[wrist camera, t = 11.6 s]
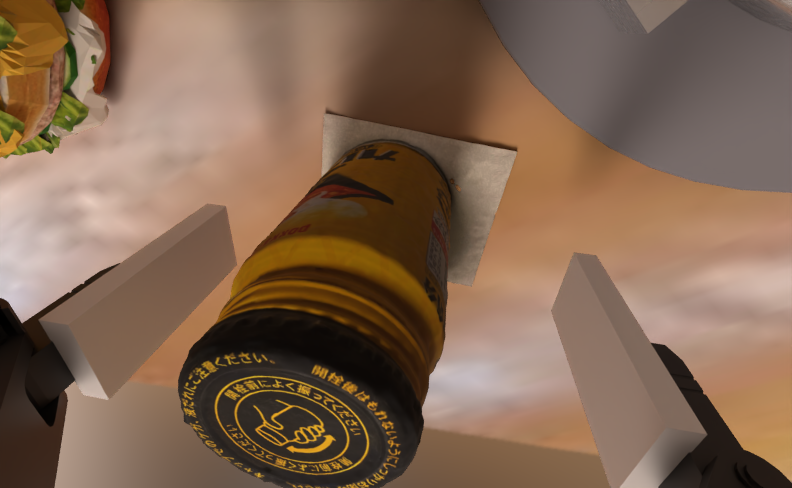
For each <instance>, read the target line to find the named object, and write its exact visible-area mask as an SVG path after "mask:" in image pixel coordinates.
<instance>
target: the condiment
mask: <svg viewBox="0 0 792 488" xmlns="http://www.w3.org/2000/svg"><path fill="white" fill-rule="evenodd" d="M322 154H323V157H322V178H321V179H320V180H319V181H318V182H317V183H316V184H315V185H314V186H313V187H312V188H311V189H310V190H309V192H308V193H307V195H306V196H305V197H304V198H303V199H302V200H301V201H300V202H299V203H298V204H297V206H295V207H294V209H293V210H292V211H291V212H290V213H289V215H288V216H287V217H285V218H284V220H283V221H282V222H281V223H280V224H279V225H278V226H277V227H276V229H275V230H274V231H273V232H271V233H270V235H269V236H267V238H266V239H265V240H263V241H262V242H261V243H260V244H259V245H258V246H257V248H256V249H255V250H254V252H253V253H252V255H251V256H250V257H249V258H247V259H246V260H245V262H244V263H243V265H242V267H241V268H240V270H239V272H238V274H237V275H236V277H235V279H234V282H233V285H232V289H231V295H230V300H229V301H228V302H227V304H226V305H225V306H224V308H223V309H222V311H221V313H220V315H219V318H218V320H217V322H216V323H215V325H213V326H212V327H211V328H210V329H209V330H208V331H207V332H206V333H205V334H204V336H203V337H202V338H201V339H200V340H199V341H197V342H196V343H195V344H194V345H193V346H192V348H191V349H190V350H189V354H188V357H187V359H186V361H185V363H184V364H183V368H182V370H181V372H180V376H179V379H178V392H179V397H180V400H181V408H182V410H183V412H184V422H185V423H187V424H189V425H191V426H192V428H193V429H194V431H195V432H196V433H197V435H198V437H199V438H200V439H202V441H203V443H204V444H205V445H206V446H207V447H208V448H210V449H211V450H212V451H214V452H215V453H216V454H217V455H218V456H219V457H222V458H224V459H226V460H227V461H229V462H230V463H231V464H233V465H234V466H236V467H237V468H238V469H240V470H241V471H243V472H246V473H248V474H250V475H252V476H255V477H258V478H260V479H261V480H263V481H264V482H272V483H274V484H276V485H278V486H281V487H283V488H380V487H382V486H384V485H385V484H386V483H388V482H390V481H392V480H394V479H396V478H397V477H399V476H400V475H402V474H403V473H404V471H405V470H406V469H407V467H408V466H409V465H410V463H411V462H412V460H413V458H414V456H415V454H416V451H417V447H418V445H419V443H420V439H421V434H422V431H423V425H424V419H423V416H422V406H423V404H424V401H425V398H426V395H427V392H428V388H429V375H430V374H431V373H432V372H433V371H434V369H435V367H436V364H437V362H438V361H439V359H440V357H441V354H442V351H443V345H444V340H445V324H446V323H445V321H446V305H447V297H448V292H447V281H449V282H452V283H456V284H462V285H466V286H471V287H472V284H473V281H474V278H475V274H476V271H477V268H478V265H479V262H480V259H481V256H482V253H483V250H484V247H485V244H486V241H487V238H488V235H489V232H490V229H491V226H492V223H493V220H494V217H495V213H496V211H497V209H498V206H499V203H500V200H501V198H502V195H503V192H504V188H505V185H506V182H507V179H508V177H509V174H510V172H511V169H512V166H513V163H514V160H515V157H516V154H517V152H516V151H511V150H506V149H500V148H495V147H490V146H486V145H481V144H475V143H469V142H465V141H460V140H456V139H450V138H445V137H441V136H436V135H431V134H427V133H422V132H418V131H413V130H408V129H404V128H398V127H393V126H388V125H384V124H378V123H373V122H369V121H363V120H357V119H353V118H349V117H343V116H338V115H332V114H325V113H324V125H323V149H322ZM450 179H453V180H454V182H455V183H454V184H451V182H450ZM455 185H458V186H459V187H460V188H461V191H460V192H459V191H458V190H457V189H456V187H455Z"/></svg>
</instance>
